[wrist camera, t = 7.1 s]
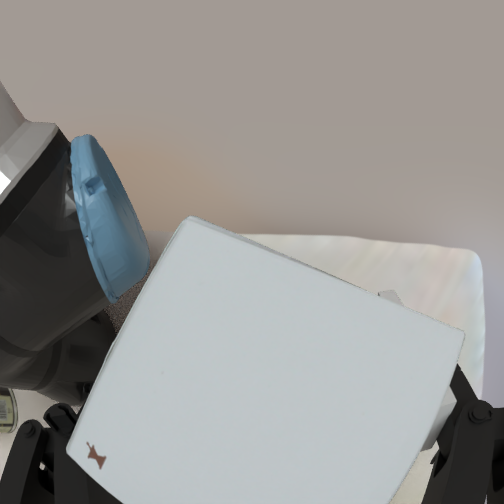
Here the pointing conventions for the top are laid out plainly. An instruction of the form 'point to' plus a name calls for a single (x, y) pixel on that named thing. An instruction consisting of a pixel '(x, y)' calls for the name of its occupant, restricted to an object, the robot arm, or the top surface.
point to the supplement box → (261, 383)
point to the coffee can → (7, 411)
